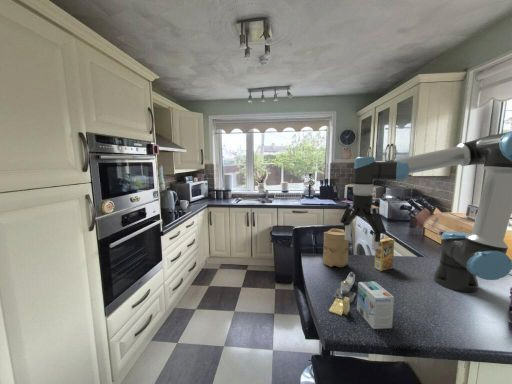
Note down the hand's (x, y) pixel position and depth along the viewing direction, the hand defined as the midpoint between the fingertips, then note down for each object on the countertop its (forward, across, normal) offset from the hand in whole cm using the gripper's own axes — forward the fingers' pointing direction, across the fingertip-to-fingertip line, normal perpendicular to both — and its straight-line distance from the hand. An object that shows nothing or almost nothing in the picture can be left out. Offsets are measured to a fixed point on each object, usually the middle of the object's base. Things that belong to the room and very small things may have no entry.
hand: (360, 244), depth 97 cm
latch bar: (+18, 0, +6) cm, 19 cm away
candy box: (+20, +7, -28) cm, 35 cm away
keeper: (+19, -6, +18) cm, 27 cm away
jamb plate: (+19, -2, +11) cm, 22 cm away
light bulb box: (+20, -16, +13) cm, 29 cm away
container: (+20, +22, -10) cm, 31 cm away
